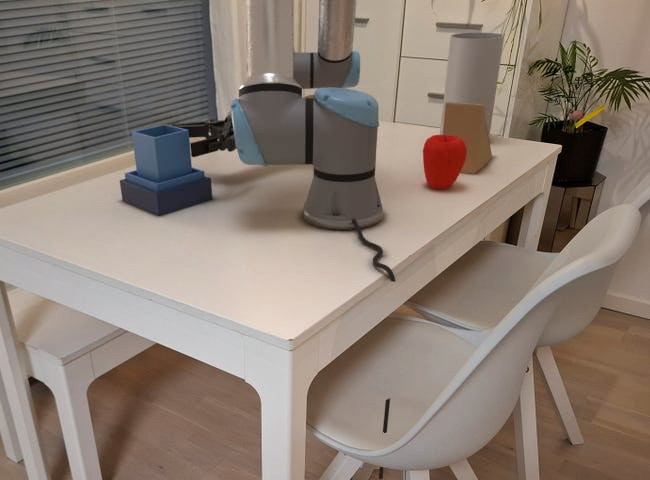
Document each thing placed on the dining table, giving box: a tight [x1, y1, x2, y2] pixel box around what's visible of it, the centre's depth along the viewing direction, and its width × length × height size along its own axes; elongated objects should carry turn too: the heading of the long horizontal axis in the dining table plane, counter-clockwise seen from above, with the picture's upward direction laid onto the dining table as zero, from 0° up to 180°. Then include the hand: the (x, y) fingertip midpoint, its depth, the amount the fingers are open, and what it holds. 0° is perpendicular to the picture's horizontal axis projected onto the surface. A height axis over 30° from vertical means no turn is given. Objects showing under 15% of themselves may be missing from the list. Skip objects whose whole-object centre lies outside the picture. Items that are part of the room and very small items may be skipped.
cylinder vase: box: [439, 32, 505, 137], centre depth 170 cm, size 12×12×25 cm
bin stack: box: [119, 166, 213, 217], centre depth 143 cm, size 14×14×6 cm
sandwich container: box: [443, 102, 493, 175], centre depth 156 cm, size 9×15×15 cm, turn 148°
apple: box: [422, 134, 467, 190], centre depth 143 cm, size 9×9×11 cm
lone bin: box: [131, 123, 193, 184], centre depth 140 cm, size 8×8×13 cm
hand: (171, 144), depth 139 cm, fingers open, 13 cm apart
